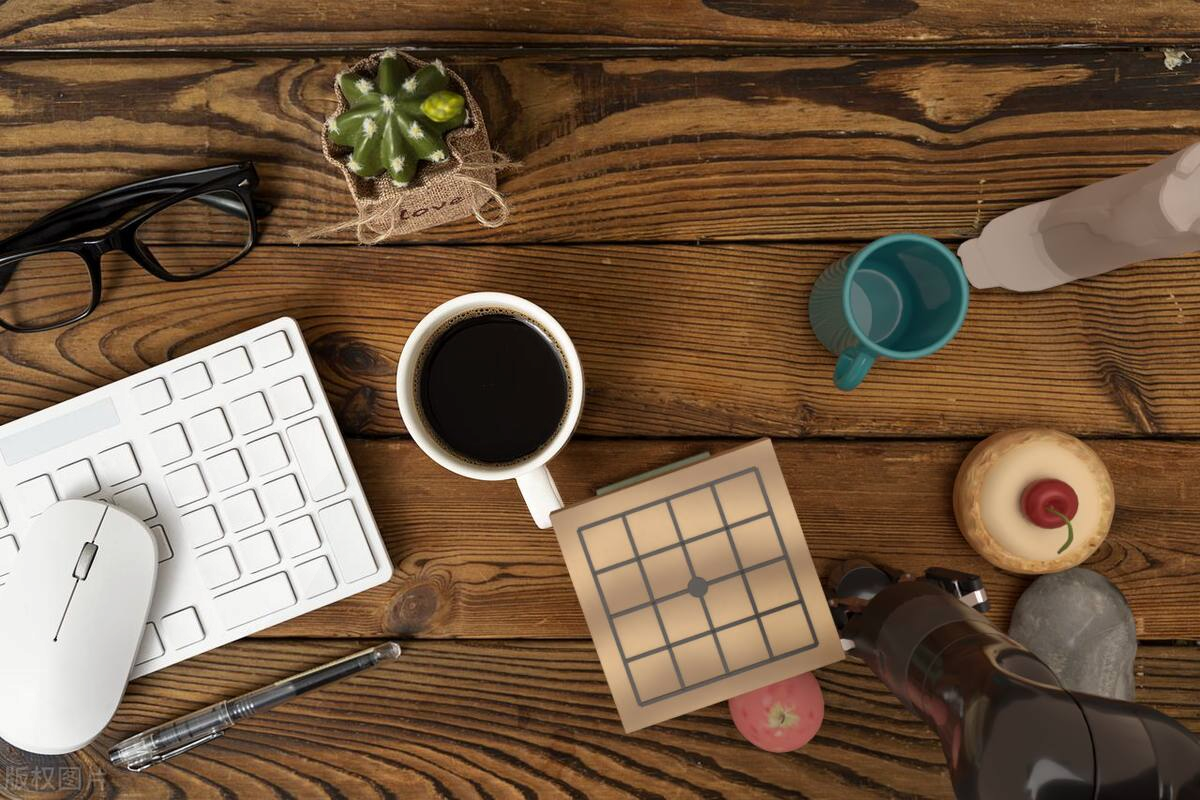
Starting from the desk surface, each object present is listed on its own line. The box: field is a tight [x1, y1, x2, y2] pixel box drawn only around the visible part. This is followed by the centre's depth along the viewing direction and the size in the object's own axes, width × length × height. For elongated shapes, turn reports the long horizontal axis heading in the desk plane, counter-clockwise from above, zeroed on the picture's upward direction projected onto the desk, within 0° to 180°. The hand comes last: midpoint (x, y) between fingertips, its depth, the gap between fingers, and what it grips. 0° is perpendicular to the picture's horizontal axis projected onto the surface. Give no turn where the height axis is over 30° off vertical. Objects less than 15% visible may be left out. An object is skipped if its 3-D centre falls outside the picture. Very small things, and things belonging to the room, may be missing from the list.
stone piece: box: [826, 558, 892, 600], centre depth 71 cm, size 5×5×3 cm
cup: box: [807, 232, 970, 393], centre depth 66 cm, size 9×12×11 cm
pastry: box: [952, 427, 1116, 575], centre depth 68 cm, size 12×12×9 cm
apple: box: [727, 670, 825, 754], centre depth 69 cm, size 7×7×8 cm
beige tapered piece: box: [957, 140, 1200, 293], centre depth 62 cm, size 7×14×20 cm, turn 106°
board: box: [548, 436, 847, 735], centre depth 62 cm, size 14×14×22 cm
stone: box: [1006, 566, 1138, 703], centre depth 71 cm, size 11×4×15 cm
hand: (858, 589), depth 72 cm, fingers closed on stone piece, 4 cm apart
